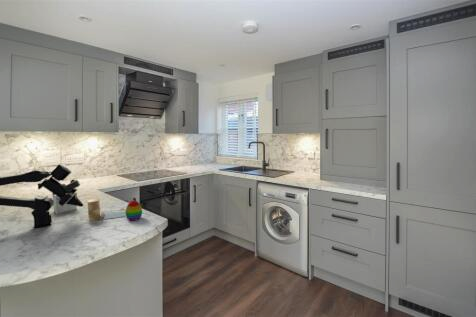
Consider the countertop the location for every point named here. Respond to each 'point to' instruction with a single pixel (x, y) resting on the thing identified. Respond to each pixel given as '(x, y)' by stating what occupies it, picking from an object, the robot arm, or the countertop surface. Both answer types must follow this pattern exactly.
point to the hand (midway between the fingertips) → (82, 205)
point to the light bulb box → (64, 208)
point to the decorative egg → (133, 210)
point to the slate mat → (112, 215)
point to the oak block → (93, 209)
